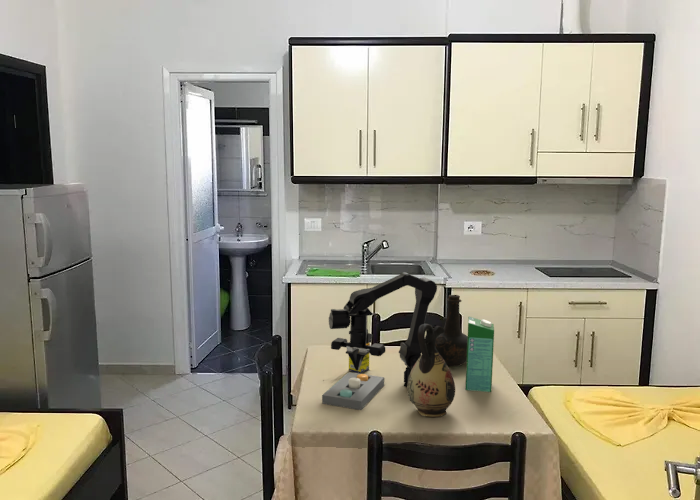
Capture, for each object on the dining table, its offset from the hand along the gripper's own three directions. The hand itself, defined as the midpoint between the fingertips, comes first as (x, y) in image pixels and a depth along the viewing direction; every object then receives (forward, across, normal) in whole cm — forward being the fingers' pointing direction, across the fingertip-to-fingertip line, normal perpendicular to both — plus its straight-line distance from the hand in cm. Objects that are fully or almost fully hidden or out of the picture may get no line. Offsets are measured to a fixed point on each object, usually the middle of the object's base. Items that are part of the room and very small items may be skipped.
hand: (357, 370), depth 213 cm
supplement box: (+8, +7, -19) cm, 22 cm away
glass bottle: (+7, -23, -43) cm, 49 cm away
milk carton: (+7, -39, -21) cm, 45 cm away
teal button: (+7, -1, +12) cm, 14 cm away
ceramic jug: (+7, -29, +8) cm, 31 cm away
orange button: (+7, 0, -4) cm, 8 cm away
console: (+7, -1, +4) cm, 8 cm away
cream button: (+6, -1, +4) cm, 7 cm away
